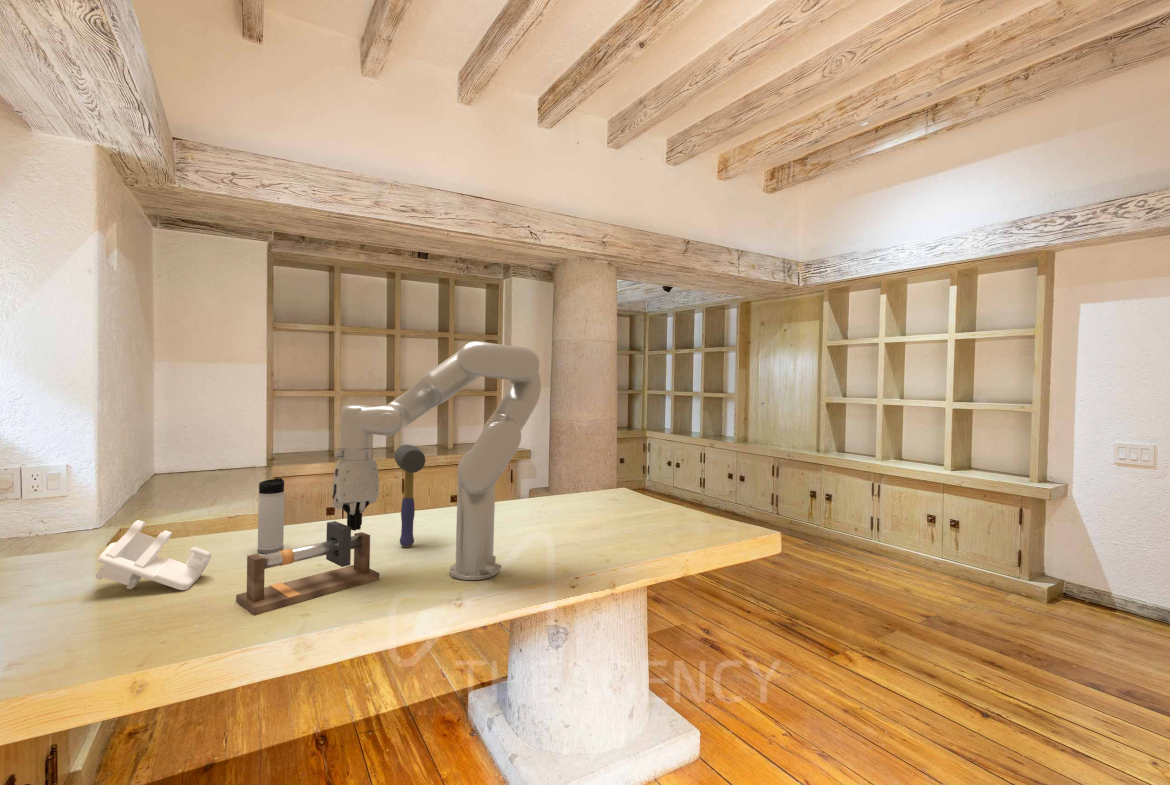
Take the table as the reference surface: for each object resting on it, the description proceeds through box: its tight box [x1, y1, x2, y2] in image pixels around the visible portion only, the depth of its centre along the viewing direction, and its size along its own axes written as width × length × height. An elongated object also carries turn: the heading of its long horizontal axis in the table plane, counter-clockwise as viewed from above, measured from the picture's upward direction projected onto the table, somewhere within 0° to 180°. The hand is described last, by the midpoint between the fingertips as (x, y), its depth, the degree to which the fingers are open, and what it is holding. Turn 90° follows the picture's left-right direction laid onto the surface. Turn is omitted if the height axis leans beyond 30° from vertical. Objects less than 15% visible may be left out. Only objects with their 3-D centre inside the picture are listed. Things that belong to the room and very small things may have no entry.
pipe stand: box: [235, 531, 381, 616], centre depth 125 cm, size 28×10×11 cm, turn 141°
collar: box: [325, 520, 352, 568], centre depth 130 cm, size 2×8×9 cm, turn 51°
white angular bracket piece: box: [95, 519, 212, 591], centre depth 125 cm, size 20×11×13 cm, turn 110°
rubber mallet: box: [393, 444, 426, 548], centre depth 159 cm, size 12×8×30 cm, turn 29°
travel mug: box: [257, 477, 285, 555], centre depth 152 cm, size 6×7×20 cm
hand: (354, 528), depth 133 cm, fingers closed
